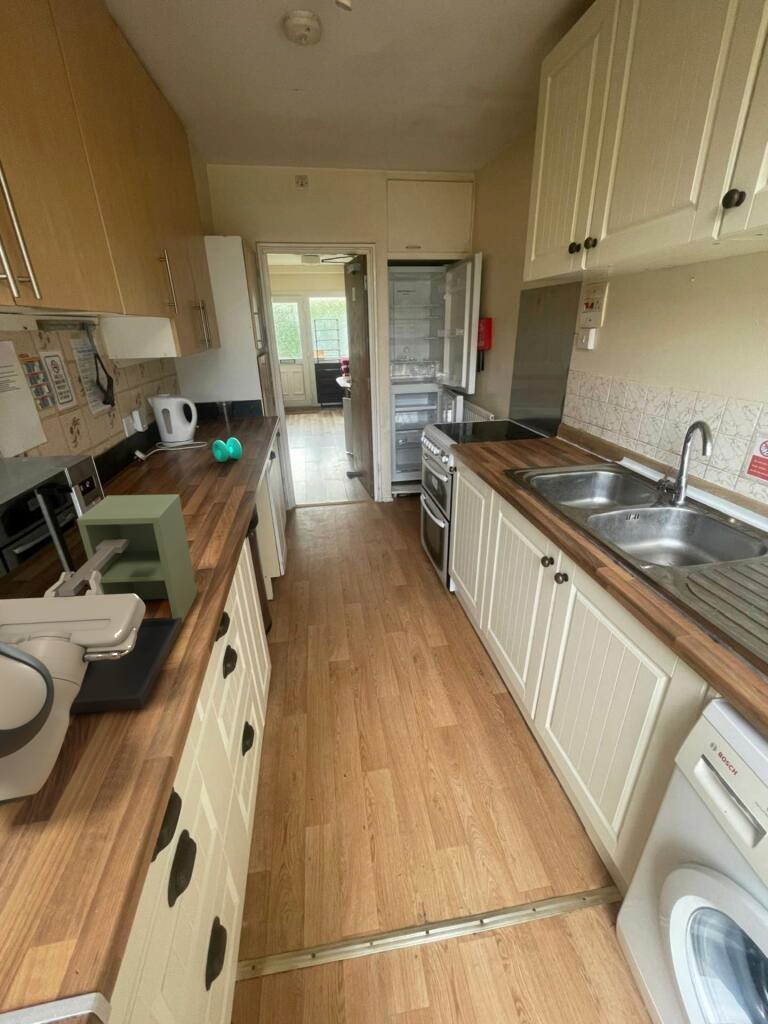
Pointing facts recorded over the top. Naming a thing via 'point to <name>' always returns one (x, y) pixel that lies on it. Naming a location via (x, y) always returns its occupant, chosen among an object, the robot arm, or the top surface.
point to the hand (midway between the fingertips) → (82, 573)
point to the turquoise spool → (227, 449)
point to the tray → (128, 670)
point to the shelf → (143, 548)
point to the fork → (94, 564)
